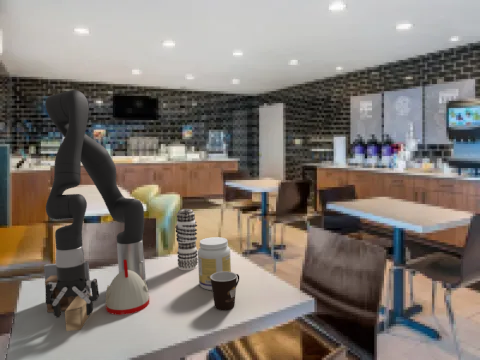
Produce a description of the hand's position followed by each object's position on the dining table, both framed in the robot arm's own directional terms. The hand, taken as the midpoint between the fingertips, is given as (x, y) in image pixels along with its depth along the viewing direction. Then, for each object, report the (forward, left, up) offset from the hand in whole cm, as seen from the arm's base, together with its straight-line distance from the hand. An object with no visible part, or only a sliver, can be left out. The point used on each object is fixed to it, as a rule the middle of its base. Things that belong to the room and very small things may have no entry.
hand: (73, 315), depth 106 cm
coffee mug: (-47, -4, -3) cm, 47 cm away
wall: (+7, -19, -3) cm, 21 cm away
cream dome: (-14, -11, -3) cm, 18 cm away
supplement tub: (-44, -22, -3) cm, 49 cm away
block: (+7, -13, -3) cm, 15 cm away
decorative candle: (-34, -44, -3) cm, 56 cm away
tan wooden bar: (-1, -3, -3) cm, 4 cm away
